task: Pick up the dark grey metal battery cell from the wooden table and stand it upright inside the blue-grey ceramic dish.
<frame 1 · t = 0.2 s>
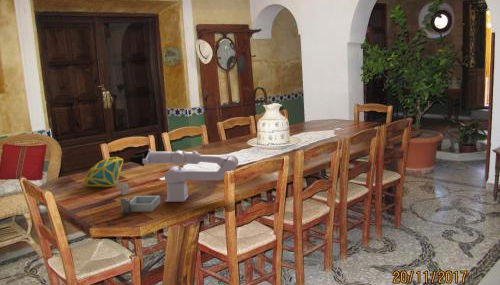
hand: (132, 157, 224), 22 cm above the table, tool horizontal, fingers open, 7 cm apart
lighter: (122, 194, 238), on the table
battery cell: (126, 214, 209), on the table
dish: (144, 207, 217), on the table
decorative object: (105, 186, 255), on the table
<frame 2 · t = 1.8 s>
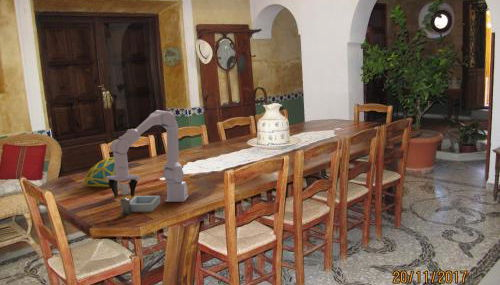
hand: (124, 196, 208), 8 cm above the table, tool pointing down, fingers open, 7 cm apart
nothing on the table moved.
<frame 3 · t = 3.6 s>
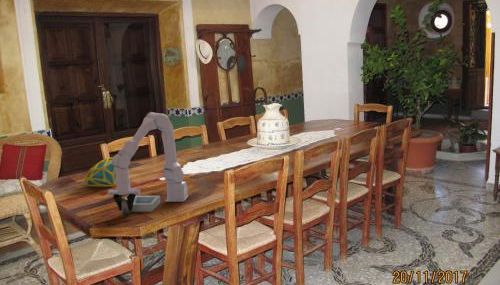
hand: (126, 210, 209), 2 cm above the table, tool pointing down, fingers closed on battery cell, 4 cm apart
battery cell: (126, 214, 209), on the table, touching gripper
everything else where it was.
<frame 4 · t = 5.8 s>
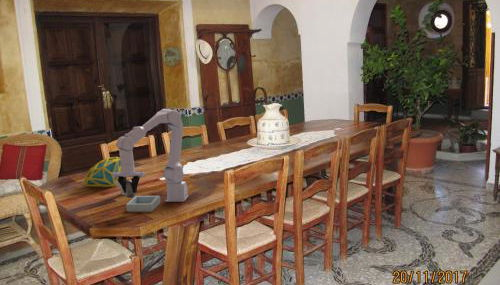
hand: (130, 192, 210), 9 cm above the table, tool pointing down, fingers closed on battery cell, 4 cm apart
battery cell: (130, 196, 210), point 7 cm above the table, touching gripper
everything else where it was.
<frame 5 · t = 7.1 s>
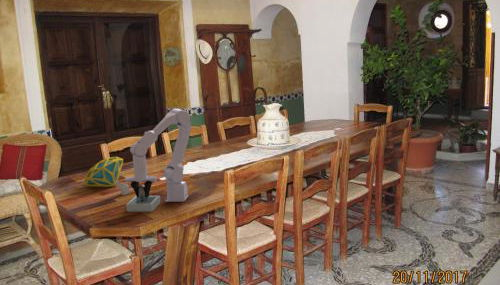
hand: (142, 196, 216), 5 cm above the table, tool pointing down, fingers closed on battery cell, 4 cm apart
battery cell: (143, 200, 217), point 3 cm above the table, touching gripper
everything else where it was.
when the fingers open (4 cm above the table, at t = 8.2 s): battery cell drops 1 cm, resting on dish.
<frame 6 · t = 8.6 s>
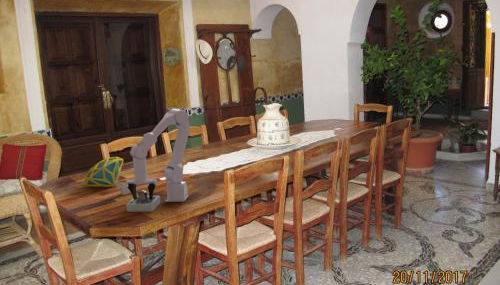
hand: (143, 199, 217), 4 cm above the table, tool pointing down, fingers open, 7 cm apart
battery cell: (143, 205, 217), point 1 cm above the table, touching dish
everything else where it was.
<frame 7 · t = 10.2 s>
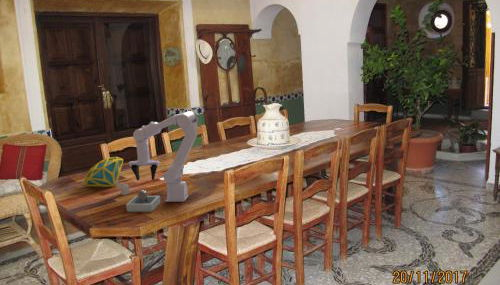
hand: (145, 179, 229), 9 cm above the table, tool pointing down, fingers open, 7 cm apart
nothing on the table moved.
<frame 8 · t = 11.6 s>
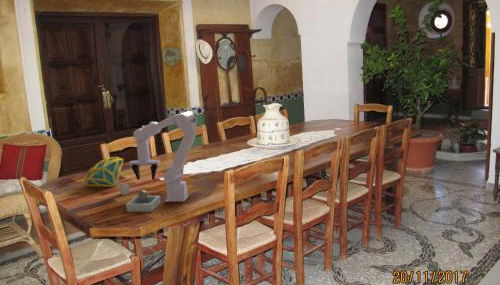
hand: (146, 179, 229), 9 cm above the table, tool pointing down, fingers open, 7 cm apart
nothing on the table moved.
at the end: battery cell 0.1 cm off-centre on the dish, point 0.6 cm above the dish's base; battery cell tilted 1°; the gripper is holding nothing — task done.
